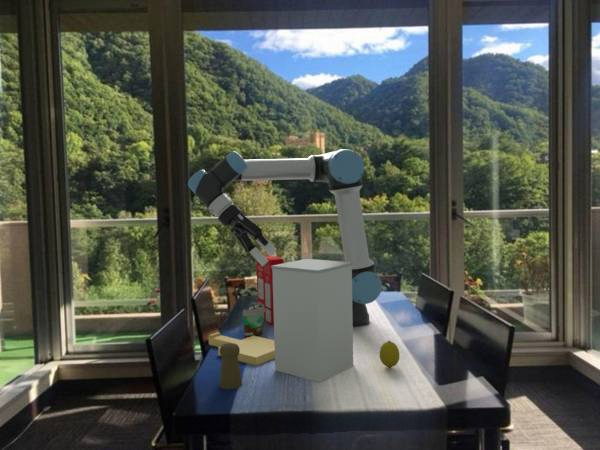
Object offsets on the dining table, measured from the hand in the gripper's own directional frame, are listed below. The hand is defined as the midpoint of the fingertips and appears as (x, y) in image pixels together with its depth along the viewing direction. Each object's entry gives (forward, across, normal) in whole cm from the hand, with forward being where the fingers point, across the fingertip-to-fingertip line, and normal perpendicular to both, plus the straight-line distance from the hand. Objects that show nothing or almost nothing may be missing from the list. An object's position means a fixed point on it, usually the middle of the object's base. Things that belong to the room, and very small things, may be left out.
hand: (269, 258), depth 171 cm
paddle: (+16, -10, -24) cm, 31 cm away
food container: (+16, -25, -14) cm, 33 cm away
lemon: (+47, +19, -2) cm, 51 cm away
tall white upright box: (+33, +12, -16) cm, 39 cm away
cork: (+20, +17, -37) cm, 45 cm away
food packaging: (+16, -40, -4) cm, 44 cm away
